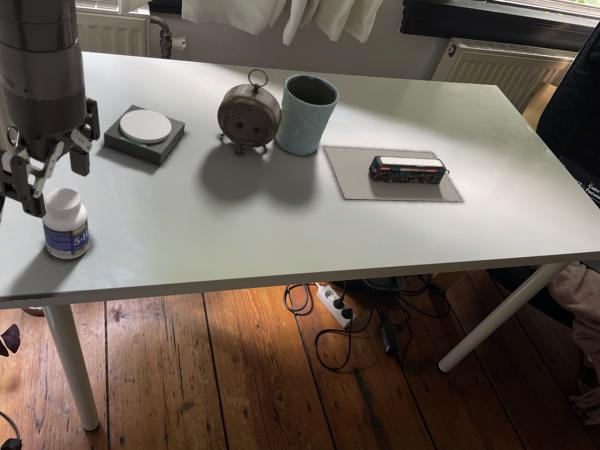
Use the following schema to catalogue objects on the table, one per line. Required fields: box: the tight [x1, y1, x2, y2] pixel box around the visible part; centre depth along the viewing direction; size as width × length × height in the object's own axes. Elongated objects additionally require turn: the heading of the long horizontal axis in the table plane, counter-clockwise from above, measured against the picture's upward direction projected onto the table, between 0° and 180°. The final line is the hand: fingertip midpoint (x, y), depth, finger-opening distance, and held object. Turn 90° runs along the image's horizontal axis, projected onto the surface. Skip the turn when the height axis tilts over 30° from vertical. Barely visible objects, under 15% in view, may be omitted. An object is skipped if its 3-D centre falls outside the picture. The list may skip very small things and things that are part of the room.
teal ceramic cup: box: [275, 73, 340, 156], centre depth 92 cm, size 10×10×12 cm
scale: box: [103, 104, 186, 165], centre depth 85 cm, size 10×10×3 cm
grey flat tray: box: [324, 147, 462, 202], centre depth 95 cm, size 14×25×4 cm, turn 103°
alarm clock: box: [216, 67, 282, 154], centre depth 85 cm, size 11×5×16 cm, turn 80°
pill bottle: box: [41, 187, 90, 260], centre depth 64 cm, size 5×5×9 cm
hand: (59, 192), depth 60 cm, fingers open, 8 cm apart
